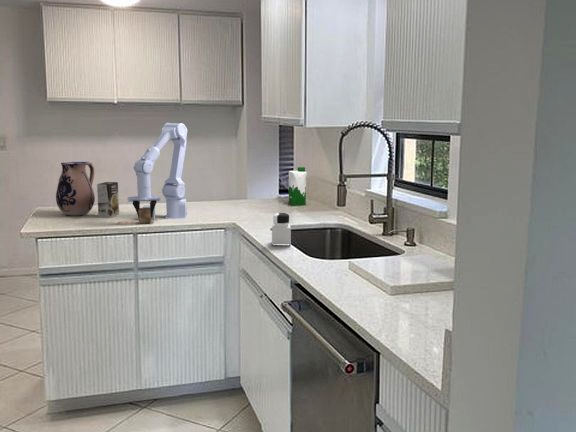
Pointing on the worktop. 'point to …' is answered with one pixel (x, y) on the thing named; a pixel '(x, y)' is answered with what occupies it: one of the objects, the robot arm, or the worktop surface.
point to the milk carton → (297, 187)
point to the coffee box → (108, 199)
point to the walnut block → (145, 215)
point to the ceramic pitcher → (75, 189)
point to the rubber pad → (144, 223)
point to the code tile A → (126, 222)
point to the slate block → (153, 211)
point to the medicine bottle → (281, 229)
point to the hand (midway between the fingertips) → (145, 217)
